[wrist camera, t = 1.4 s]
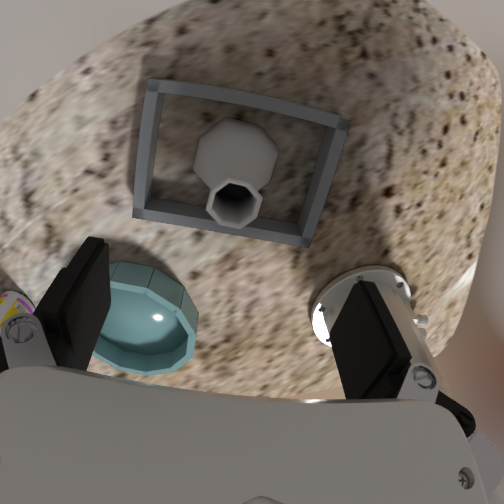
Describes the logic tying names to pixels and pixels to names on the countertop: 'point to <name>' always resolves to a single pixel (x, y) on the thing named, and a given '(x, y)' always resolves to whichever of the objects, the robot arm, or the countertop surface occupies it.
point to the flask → (235, 170)
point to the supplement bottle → (13, 305)
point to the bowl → (146, 322)
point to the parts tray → (197, 214)
